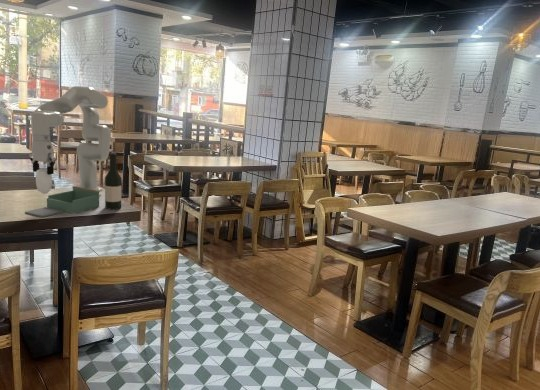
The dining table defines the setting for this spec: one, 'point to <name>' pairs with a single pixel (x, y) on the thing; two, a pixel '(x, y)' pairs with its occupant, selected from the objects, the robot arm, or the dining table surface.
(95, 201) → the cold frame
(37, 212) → the rubber mat
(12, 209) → the dining table surface
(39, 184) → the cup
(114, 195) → the wine bottle
